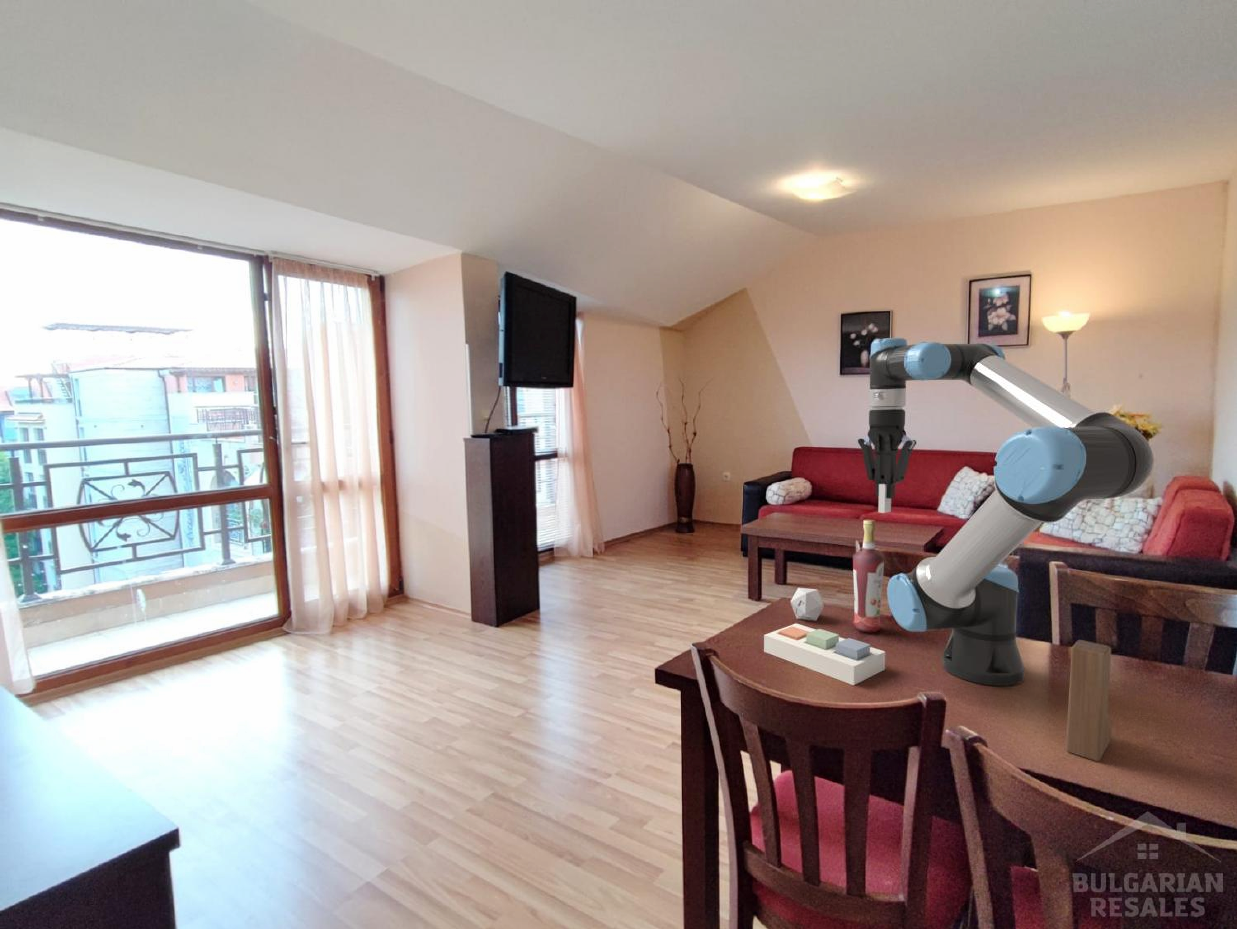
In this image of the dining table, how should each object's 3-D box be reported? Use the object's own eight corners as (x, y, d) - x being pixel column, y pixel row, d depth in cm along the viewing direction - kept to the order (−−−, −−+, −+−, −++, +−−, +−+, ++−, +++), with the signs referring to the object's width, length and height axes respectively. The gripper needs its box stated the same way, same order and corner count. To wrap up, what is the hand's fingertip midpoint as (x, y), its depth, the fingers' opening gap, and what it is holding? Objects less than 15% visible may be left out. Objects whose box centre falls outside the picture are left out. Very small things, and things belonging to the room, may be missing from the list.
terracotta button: (809, 644, 147) (810, 632, 147) (796, 650, 144) (796, 637, 144) (792, 638, 151) (792, 626, 151) (778, 643, 148) (778, 631, 148)
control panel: (884, 669, 136) (885, 651, 136) (853, 685, 129) (853, 666, 129) (795, 639, 154) (796, 623, 154) (764, 651, 147) (764, 635, 147)
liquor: (874, 637, 155) (876, 524, 152) (846, 629, 160) (848, 520, 158) (887, 629, 160) (890, 520, 157) (859, 622, 165) (862, 516, 162)
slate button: (869, 658, 135) (870, 644, 135) (856, 664, 132) (857, 650, 132) (848, 651, 139) (848, 638, 139) (835, 657, 136) (835, 643, 136)
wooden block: (1078, 732, 110) (1084, 631, 108) (1111, 742, 106) (1117, 638, 105) (1065, 752, 104) (1071, 645, 102) (1099, 763, 100) (1105, 653, 98)
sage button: (838, 647, 141) (838, 634, 141) (825, 653, 138) (825, 640, 138) (819, 641, 145) (819, 628, 145) (806, 646, 142) (806, 633, 142)
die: (785, 615, 174) (782, 594, 167) (807, 596, 176) (805, 575, 170) (809, 633, 168) (807, 612, 162) (831, 613, 171) (829, 592, 164)
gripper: (851, 408, 145) (849, 510, 147) (906, 408, 135) (903, 517, 137) (869, 408, 149) (867, 506, 152) (924, 408, 139) (920, 513, 142)
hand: (884, 512), depth 144 cm, fingers closed
